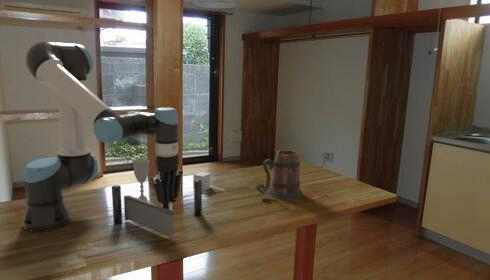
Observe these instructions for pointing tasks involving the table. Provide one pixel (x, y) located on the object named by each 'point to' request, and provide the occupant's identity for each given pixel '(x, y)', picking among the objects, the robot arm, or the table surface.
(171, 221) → the gate leaf
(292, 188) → the tankard
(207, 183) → the product box
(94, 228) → the table surface
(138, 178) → the chalice
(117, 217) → the gate frame
